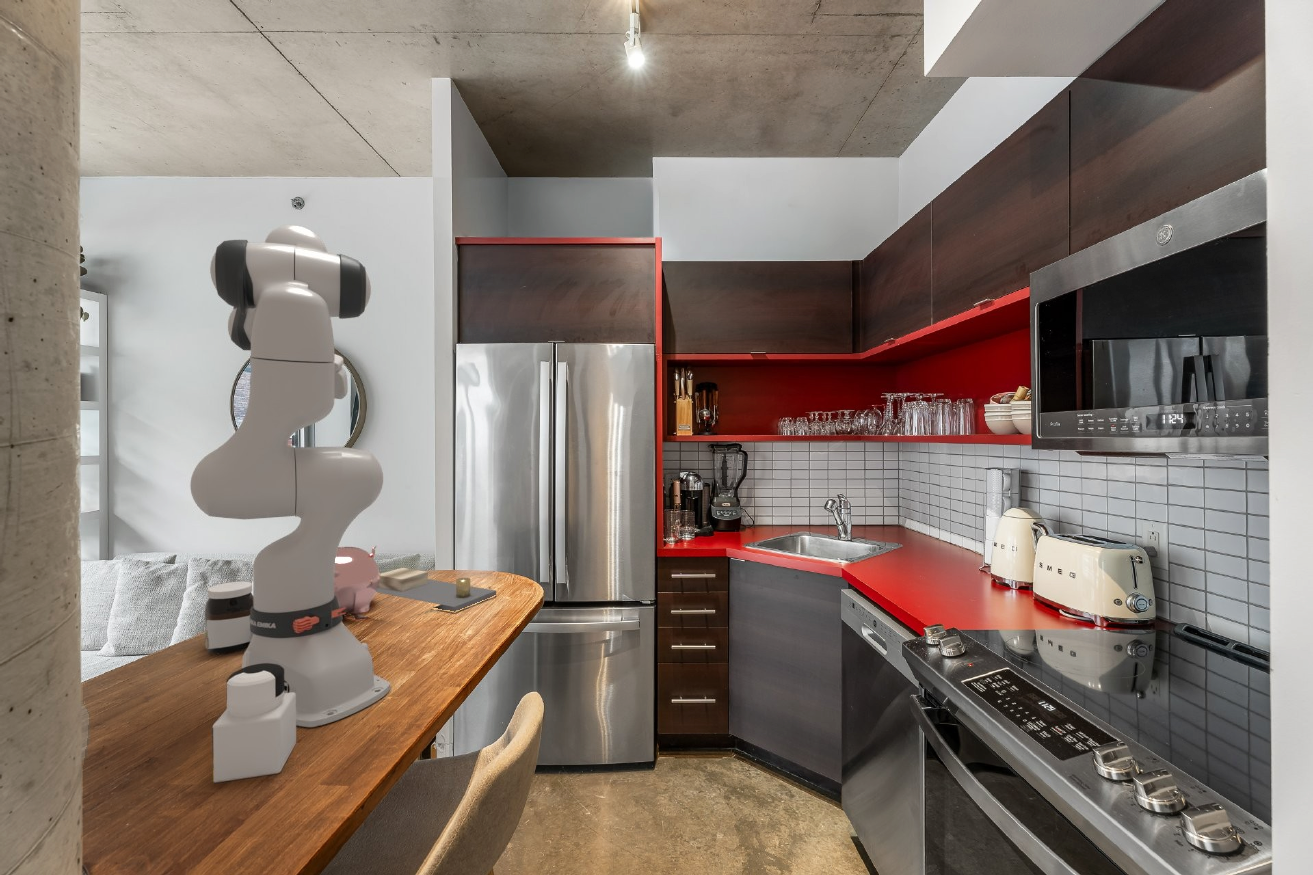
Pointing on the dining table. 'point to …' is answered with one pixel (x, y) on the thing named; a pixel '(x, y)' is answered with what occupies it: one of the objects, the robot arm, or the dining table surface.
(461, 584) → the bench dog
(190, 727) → the dining table surface
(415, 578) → the beige flat block
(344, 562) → the piggy bank
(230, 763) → the medicine bottle
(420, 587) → the board
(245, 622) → the spread jar
